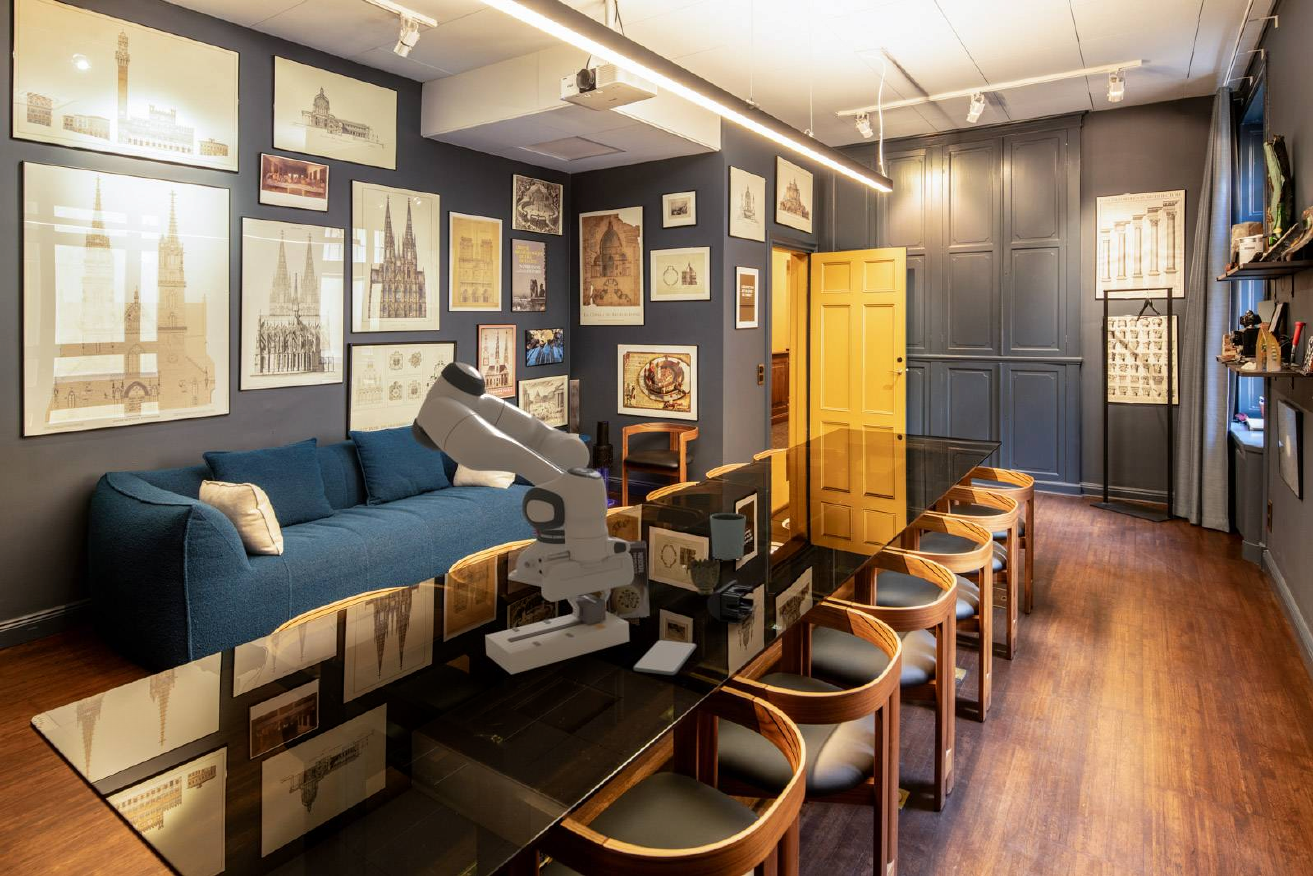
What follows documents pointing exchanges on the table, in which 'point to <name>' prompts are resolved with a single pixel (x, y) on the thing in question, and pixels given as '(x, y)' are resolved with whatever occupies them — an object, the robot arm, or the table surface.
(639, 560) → the coffee box
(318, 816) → the table surface
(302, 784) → the table surface
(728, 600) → the end cap
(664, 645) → the smartphone
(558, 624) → the fader console
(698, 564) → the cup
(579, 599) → the fader knob
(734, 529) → the blue plant pot
